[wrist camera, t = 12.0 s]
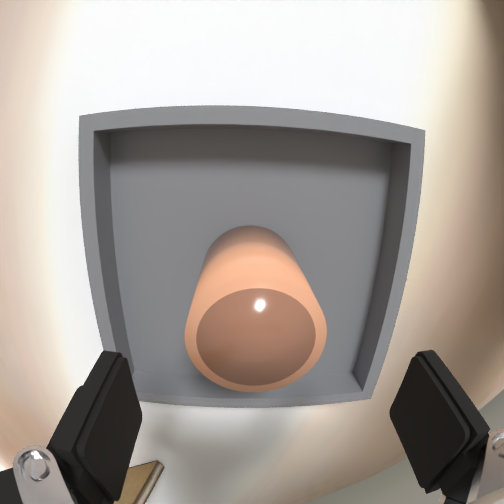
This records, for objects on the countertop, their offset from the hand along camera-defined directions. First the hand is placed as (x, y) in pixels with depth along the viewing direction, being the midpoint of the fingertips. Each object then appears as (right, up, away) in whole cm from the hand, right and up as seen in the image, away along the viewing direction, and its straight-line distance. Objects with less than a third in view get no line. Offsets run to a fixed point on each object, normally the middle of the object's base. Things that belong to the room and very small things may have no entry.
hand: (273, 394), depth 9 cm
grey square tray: (-1, +4, +12) cm, 13 cm away
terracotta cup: (-1, +3, +11) cm, 12 cm away
